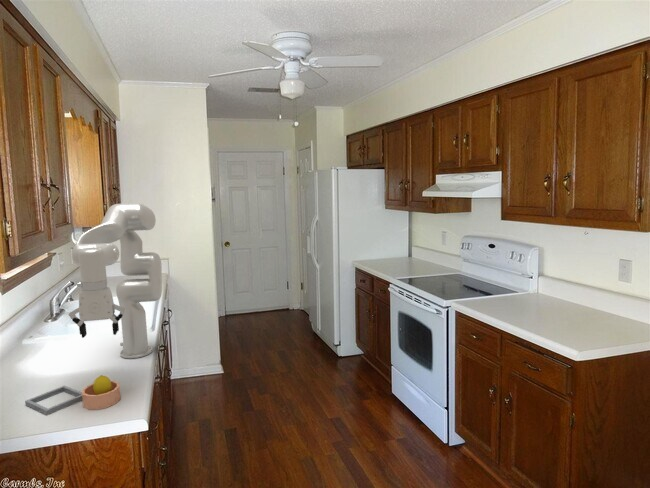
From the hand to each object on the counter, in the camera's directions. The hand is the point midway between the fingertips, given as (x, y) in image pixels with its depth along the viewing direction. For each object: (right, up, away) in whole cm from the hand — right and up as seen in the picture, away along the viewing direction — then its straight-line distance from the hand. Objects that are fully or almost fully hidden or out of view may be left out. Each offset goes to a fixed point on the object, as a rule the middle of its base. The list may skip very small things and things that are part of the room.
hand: (99, 334), depth 158 cm
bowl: (+1, -22, -2) cm, 22 cm away
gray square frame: (-14, -22, -1) cm, 26 cm away
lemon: (+2, -21, -1) cm, 21 cm away
